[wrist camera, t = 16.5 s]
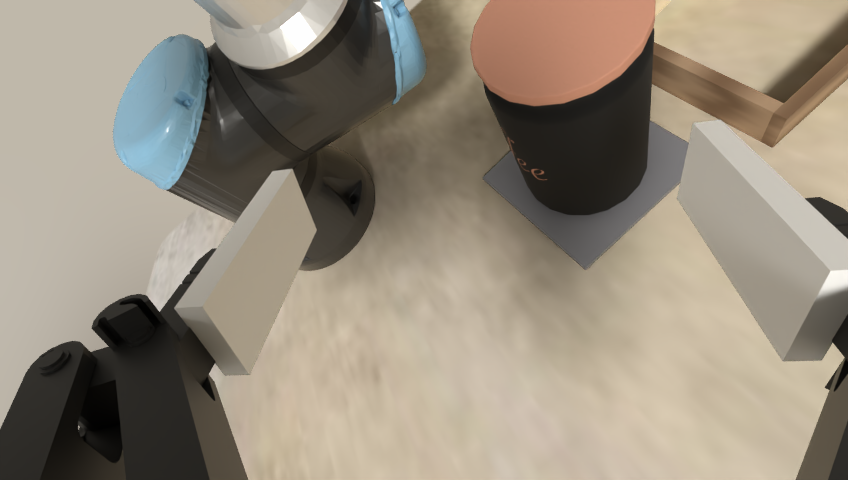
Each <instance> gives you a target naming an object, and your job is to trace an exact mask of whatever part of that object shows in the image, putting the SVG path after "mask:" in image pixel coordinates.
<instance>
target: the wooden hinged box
mask: <svg viewBox="0 0 848 480" xmlns="http://www.w3.org/2000/svg"><path fill="white" fill-rule="evenodd" d="M847 79H848V45H846V46H845V47H844V48H843V49H842V50H841V51H840V52H839V53H838V54H837V55H836V56H835V57H833V58H832V59H831V60H830V61H829V62H828V63H827V64H826V65H825V66H824V67H823V68H822V69H820V70H819V71H818V72H817V73H816V74H815V75H814V76H813V77H812V78H811V79H810V80H809V81H807V82H806V83H805V84H804V85H803V86H802V87H801V88H800V89H799V90H798V91H797V92H796V93H794V94H793V95H792V96H791V97H790V98H789V99H788V100H787V101H786V102H785V103H782V102H780V101H778V100H776V99H774V98H772V97H769V96H767V95H765V94H763V93H761V92H759V91H757V90H755V89H752V88H750V87H748V86H746V85H744V84H742V83H740V82H738V81H735V80H733V79H731V78H729V77H727V76H725V75H723V74H721V73H718V72H716V71H714V70H712V69H710V68H708V67H706V66H704V65H701V64H699V63H697V62H695V61H693V60H691V59H689V58H687V57H684V56H682V55H680V54H678V53H676V52H674V51H672V50H670V49H667V48H665V47H663V46H661V45H659V44H657V43H655V42H654V50H653V69H652V84H654V85H656V86H657V87H659V88H661V89H663V90H665V91H667V92H669V93H671V94H672V95H674V96H676V97H678V98H680V99H682V100H684V101H686V102H688V103H689V104H691V105H693V106H695V107H697V108H699V109H701V110H703V111H704V112H706V113H708V114H710V115H712V116H714V117H716V118H718V119H720V120H722V121H723V122H725V123H727V124H729V125H731V126H733V127H735V128H736V129H738V130H740V131H742V132H744V133H746V134H748V135H750V136H752V137H753V138H755V139H757V140H759V141H761V142H763V143H765V144H767V145H768V146H770V147H774V146H775V145H776V144H777V143H778V142H779V141H780V140H781V139H782V138H783V137H784V136H786V135H787V134H788V133H789V132H790V131H791V130H792V129H793V128H794V127H795V126H796V125H798V124H799V123H800V122H801V121H802V120H803V119H804V118H805V117H806V116H807V115H808V114H810V113H811V112H812V111H813V110H814V109H815V108H816V107H817V106H818V105H819V104H820V103H822V102H823V101H824V100H825V99H826V98H827V97H828V96H829V95H830V94H831V93H833V92H834V91H835V90H836V89H837V88H838V87H839V86H840V85H841V84H842V83H843V82H845V81H846V80H847Z"/></svg>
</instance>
